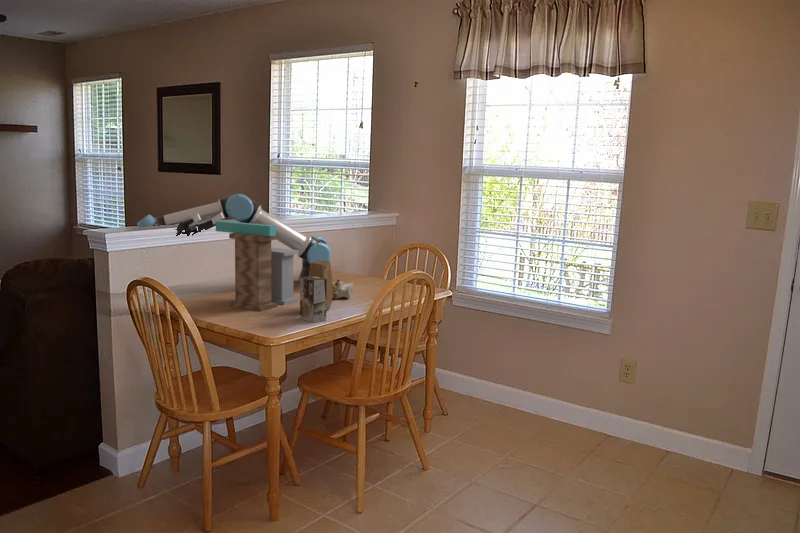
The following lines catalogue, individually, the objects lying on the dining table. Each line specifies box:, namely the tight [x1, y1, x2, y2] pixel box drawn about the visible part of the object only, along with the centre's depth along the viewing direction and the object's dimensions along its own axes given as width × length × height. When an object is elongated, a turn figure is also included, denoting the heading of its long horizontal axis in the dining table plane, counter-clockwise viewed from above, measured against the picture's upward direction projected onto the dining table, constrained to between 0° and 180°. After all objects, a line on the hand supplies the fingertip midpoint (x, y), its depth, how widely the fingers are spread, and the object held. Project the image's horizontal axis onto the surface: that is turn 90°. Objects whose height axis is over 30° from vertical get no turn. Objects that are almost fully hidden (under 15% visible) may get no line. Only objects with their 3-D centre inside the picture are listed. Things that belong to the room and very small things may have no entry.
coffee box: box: [299, 276, 327, 323], centre depth 235 cm, size 9×6×16 cm
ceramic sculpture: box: [332, 279, 354, 300], centre depth 275 cm, size 11×9×15 cm
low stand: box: [271, 247, 299, 305], centre depth 266 cm, size 16×10×22 cm, turn 63°
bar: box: [215, 220, 276, 236], centre depth 251 cm, size 28×4×4 cm, turn 63°
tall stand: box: [228, 232, 278, 312], centre depth 252 cm, size 16×10×30 cm, turn 63°
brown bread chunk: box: [309, 260, 334, 312], centre depth 251 cm, size 11×8×20 cm
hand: (211, 215), depth 263 cm, fingers open, 13 cm apart
